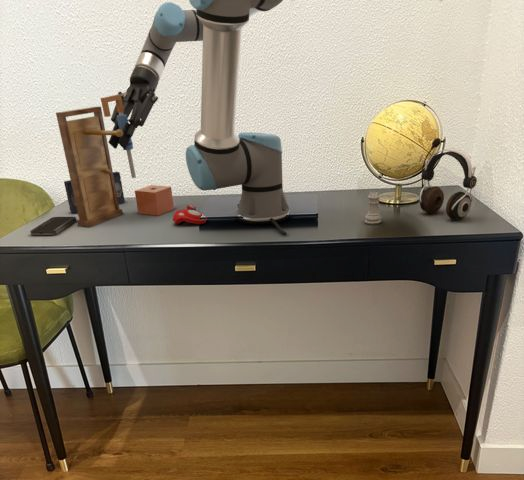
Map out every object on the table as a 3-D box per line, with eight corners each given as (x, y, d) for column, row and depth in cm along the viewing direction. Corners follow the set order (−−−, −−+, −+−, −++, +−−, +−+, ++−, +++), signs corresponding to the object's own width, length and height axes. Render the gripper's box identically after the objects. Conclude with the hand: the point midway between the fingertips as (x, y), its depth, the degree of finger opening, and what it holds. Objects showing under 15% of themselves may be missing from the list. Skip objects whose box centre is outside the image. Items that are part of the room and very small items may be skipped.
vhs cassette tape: (73, 214, 171) (66, 182, 166) (69, 212, 173) (62, 180, 168) (125, 202, 180) (120, 172, 175) (122, 201, 182) (116, 171, 178)
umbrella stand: (154, 206, 174) (151, 184, 170) (174, 209, 170) (171, 186, 167) (138, 213, 168) (134, 190, 164) (158, 215, 164) (154, 192, 161)
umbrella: (133, 175, 159) (117, 94, 147) (141, 176, 158) (125, 93, 146) (116, 182, 154) (97, 98, 142) (124, 183, 152) (106, 98, 141)
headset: (408, 212, 153) (415, 138, 143) (427, 207, 157) (434, 134, 147) (458, 225, 141) (469, 145, 131) (477, 219, 144) (489, 140, 135)
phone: (77, 216, 163) (54, 231, 150) (77, 220, 164) (55, 235, 151) (52, 216, 164) (28, 231, 151) (53, 220, 165) (29, 235, 152)
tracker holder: (213, 218, 154) (182, 216, 148) (210, 232, 156) (179, 231, 151) (195, 201, 162) (165, 198, 156) (192, 214, 164) (162, 212, 158)
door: (112, 212, 170) (92, 106, 155) (153, 217, 162) (136, 106, 147) (77, 225, 159) (52, 112, 144) (119, 231, 151) (98, 112, 136)
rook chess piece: (382, 220, 148) (383, 191, 144) (379, 225, 144) (381, 195, 140) (365, 219, 149) (367, 190, 145) (363, 224, 146) (364, 194, 142)
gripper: (175, 84, 153) (146, 155, 149) (133, 85, 160) (104, 152, 156) (161, 64, 147) (130, 137, 142) (117, 66, 154) (87, 136, 149)
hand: (117, 145), depth 149 cm, fingers closed on umbrella, 3 cm apart
